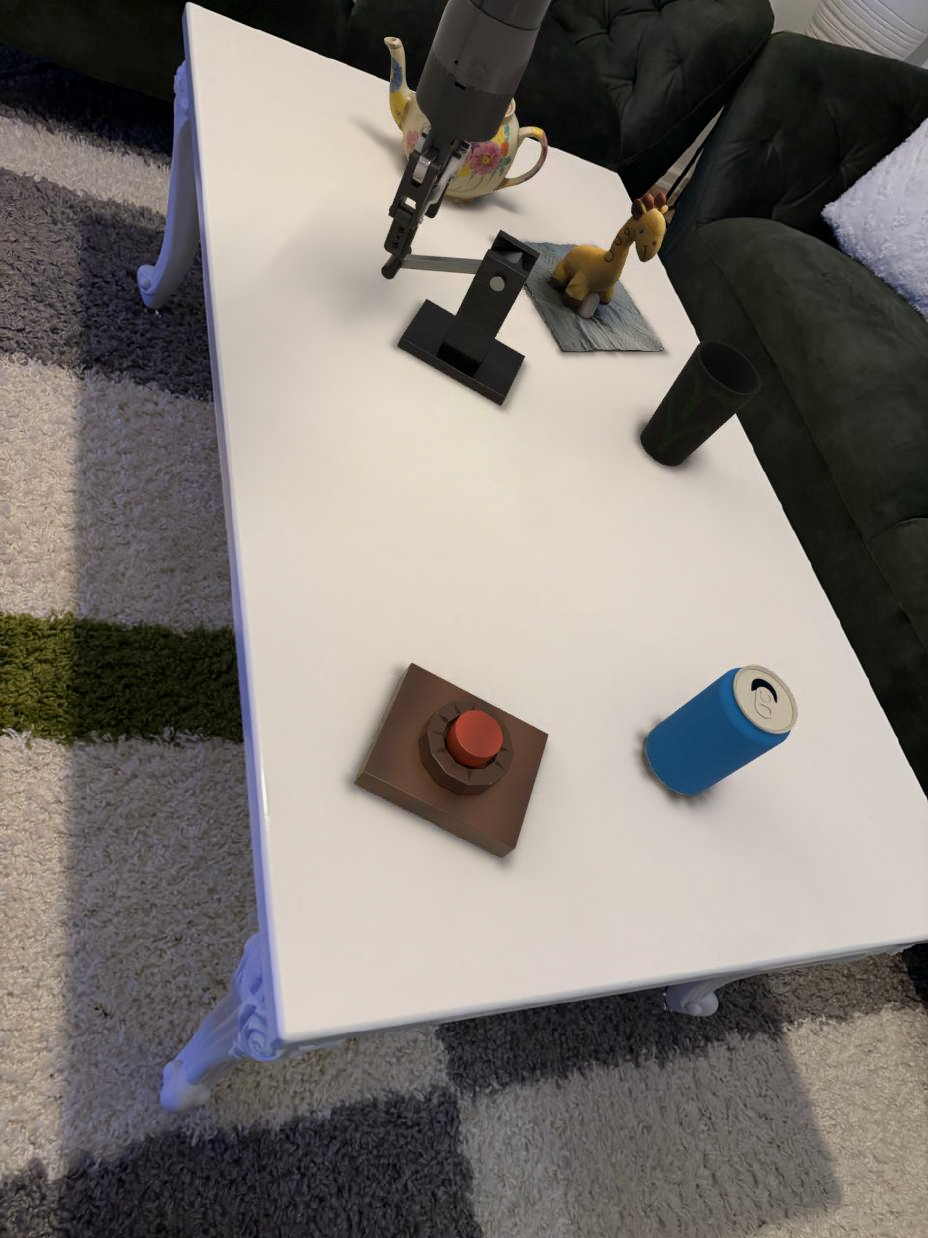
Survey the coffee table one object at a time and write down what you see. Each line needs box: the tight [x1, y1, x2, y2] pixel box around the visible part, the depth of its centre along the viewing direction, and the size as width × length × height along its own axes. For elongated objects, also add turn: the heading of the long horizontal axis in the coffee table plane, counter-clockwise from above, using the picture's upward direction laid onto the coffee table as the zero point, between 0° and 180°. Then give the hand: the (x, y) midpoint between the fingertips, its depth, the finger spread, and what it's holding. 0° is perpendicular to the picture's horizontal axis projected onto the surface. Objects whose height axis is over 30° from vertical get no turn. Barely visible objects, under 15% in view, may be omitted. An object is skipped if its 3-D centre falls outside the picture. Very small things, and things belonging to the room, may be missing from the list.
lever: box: [380, 246, 523, 281], centre depth 85 cm, size 13×5×2 cm, turn 72°
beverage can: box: [645, 664, 799, 796], centre depth 70 cm, size 6×6×12 cm
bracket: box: [396, 229, 540, 406], centre depth 87 cm, size 12×8×13 cm, turn 71°
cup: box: [640, 339, 762, 467], centre depth 93 cm, size 8×8×12 cm
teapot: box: [383, 36, 549, 204], centre depth 103 cm, size 20×14×13 cm
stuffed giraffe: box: [523, 192, 669, 352], centre depth 101 cm, size 16×18×16 cm
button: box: [446, 710, 503, 767], centre depth 62 cm, size 4×4×2 cm
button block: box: [353, 662, 549, 859], centre depth 64 cm, size 12×10×4 cm
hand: (409, 232), depth 84 cm, fingers open, 8 cm apart
